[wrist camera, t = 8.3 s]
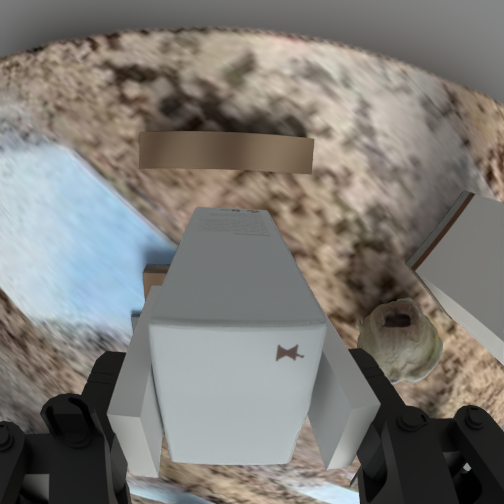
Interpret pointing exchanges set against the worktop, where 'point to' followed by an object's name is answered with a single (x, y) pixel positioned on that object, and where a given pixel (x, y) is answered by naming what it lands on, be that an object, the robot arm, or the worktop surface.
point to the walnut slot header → (220, 161)
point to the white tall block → (468, 268)
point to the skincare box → (234, 342)
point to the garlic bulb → (401, 341)
